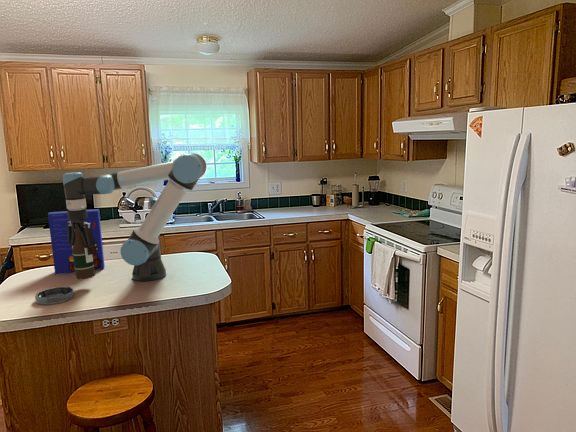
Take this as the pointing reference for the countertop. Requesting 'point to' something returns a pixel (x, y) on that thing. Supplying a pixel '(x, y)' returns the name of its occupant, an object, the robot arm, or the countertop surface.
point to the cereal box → (60, 240)
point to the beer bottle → (81, 258)
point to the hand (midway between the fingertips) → (83, 260)
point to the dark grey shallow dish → (54, 295)
